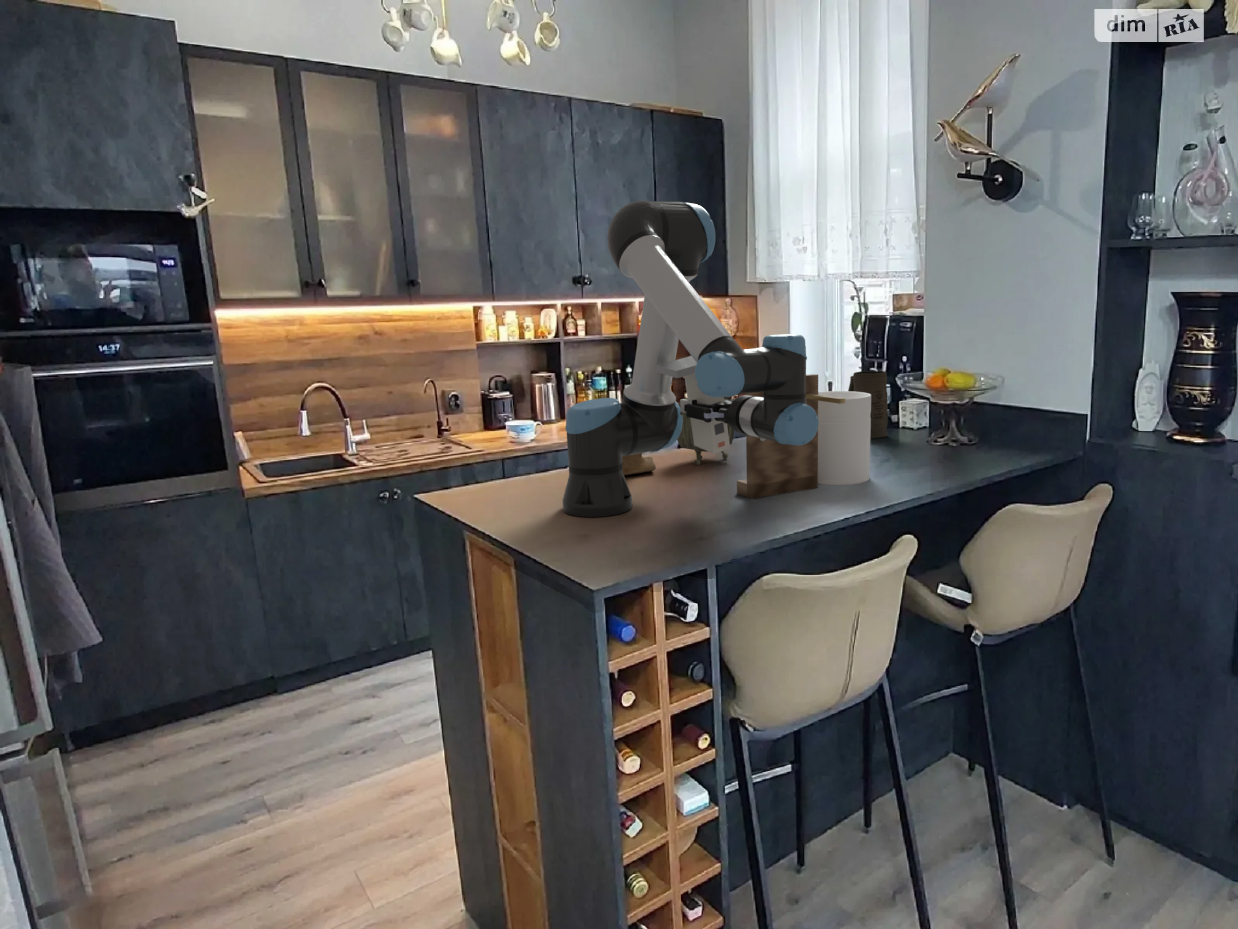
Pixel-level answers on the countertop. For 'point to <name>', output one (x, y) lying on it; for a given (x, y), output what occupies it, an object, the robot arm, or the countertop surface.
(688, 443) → the tabletop clock
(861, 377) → the beer stein
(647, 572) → the countertop surface
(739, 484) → the bracket
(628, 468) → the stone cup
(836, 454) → the canister
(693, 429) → the power strip
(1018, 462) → the countertop surface
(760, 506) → the countertop surface
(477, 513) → the countertop surface
